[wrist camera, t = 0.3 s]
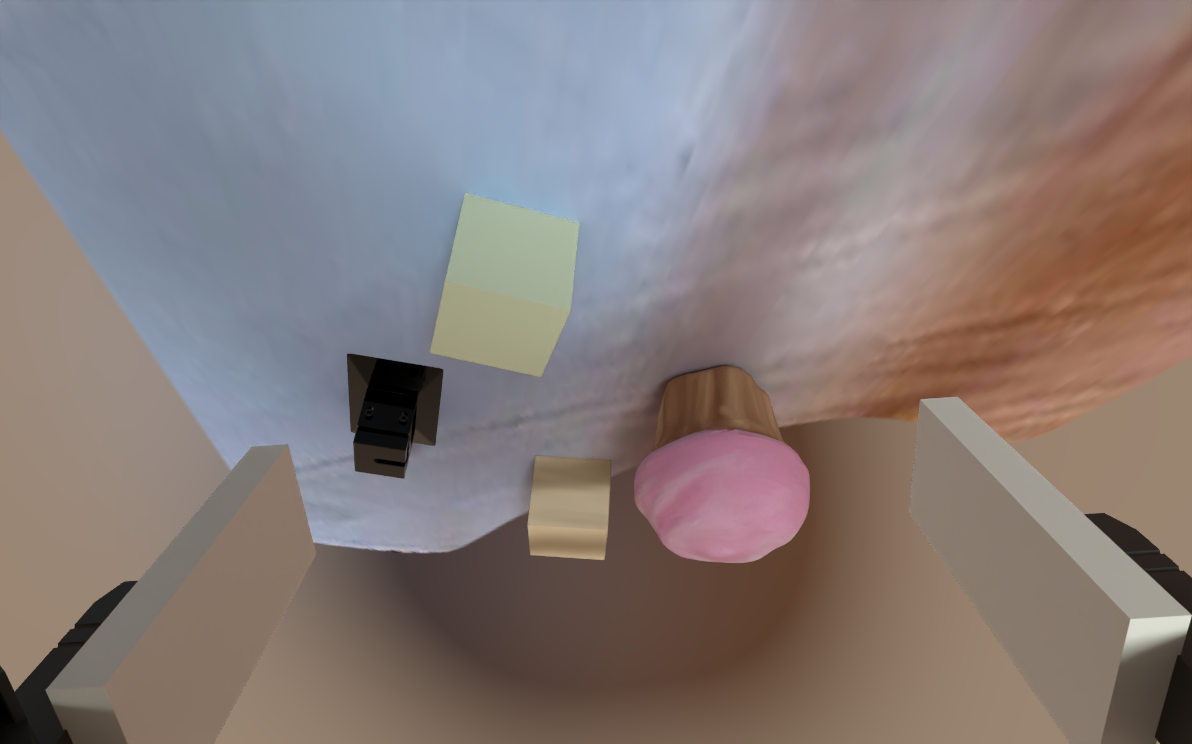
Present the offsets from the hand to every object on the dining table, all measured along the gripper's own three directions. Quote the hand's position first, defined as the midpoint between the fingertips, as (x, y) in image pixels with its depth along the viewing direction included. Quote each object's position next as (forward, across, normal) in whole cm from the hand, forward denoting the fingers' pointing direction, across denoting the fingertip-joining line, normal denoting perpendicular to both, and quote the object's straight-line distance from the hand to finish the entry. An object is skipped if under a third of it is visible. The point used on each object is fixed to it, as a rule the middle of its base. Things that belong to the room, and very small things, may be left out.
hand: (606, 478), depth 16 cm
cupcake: (+25, +6, -9) cm, 28 cm away
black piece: (+29, -13, -10) cm, 33 cm away
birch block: (+32, -3, -18) cm, 37 cm away
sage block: (+20, -4, 0) cm, 21 cm away
